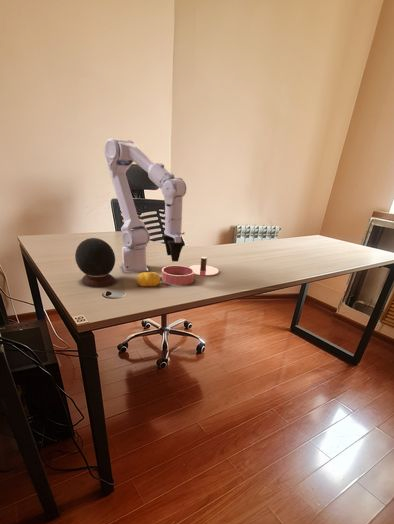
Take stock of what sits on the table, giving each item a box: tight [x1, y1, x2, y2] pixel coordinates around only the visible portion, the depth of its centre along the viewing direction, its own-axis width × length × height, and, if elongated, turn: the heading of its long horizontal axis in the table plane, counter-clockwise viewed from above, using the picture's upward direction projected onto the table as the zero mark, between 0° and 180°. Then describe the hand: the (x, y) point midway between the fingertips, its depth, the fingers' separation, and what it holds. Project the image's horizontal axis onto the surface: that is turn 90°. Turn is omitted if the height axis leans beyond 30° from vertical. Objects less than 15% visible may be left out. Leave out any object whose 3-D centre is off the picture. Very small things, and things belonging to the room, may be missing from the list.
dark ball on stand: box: [74, 237, 116, 288], centre depth 106 cm, size 13×13×15 cm
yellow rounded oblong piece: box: [136, 271, 163, 288], centre depth 108 cm, size 9×5×5 cm, turn 108°
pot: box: [161, 264, 195, 286], centre depth 115 cm, size 12×12×4 cm
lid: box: [188, 256, 220, 277], centre depth 125 cm, size 13×13×6 cm
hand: (172, 258), depth 111 cm, fingers open, 7 cm apart
